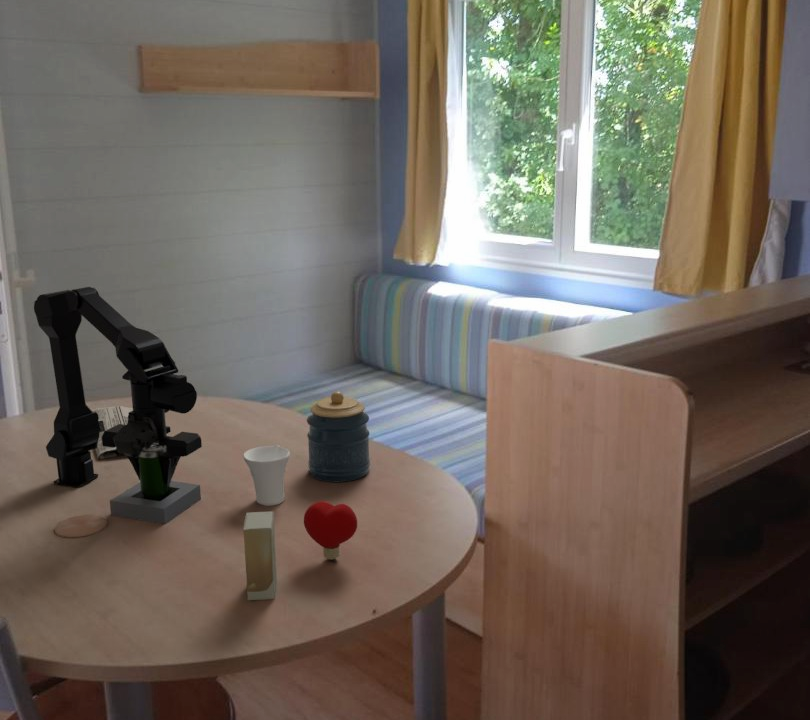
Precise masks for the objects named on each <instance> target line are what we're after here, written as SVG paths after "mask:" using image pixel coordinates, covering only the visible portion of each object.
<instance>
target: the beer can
mask: <svg viewBox="0 0 810 720" xmlns="http://www.w3.org/2000/svg"><path fill="white" fill-rule="evenodd" d="M163 452H165V446H159V445H151V446H150V448H143V449H142V452H141V453H140V454H138V463H139V474H140V480H139V483H140V485H141V495H142V499H148V500H154V501H162V500H163V499H165V498H166V497H168V496H169V495H171V492H170V483H169V484H168V485H166V484H165V480H164V471H163V461H162V459H161V458H160V457H159V456H158V455H160V454H161V453H163Z"/></svg>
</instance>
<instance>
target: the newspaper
mask: <svg viewBox="0 0 810 720" xmlns="http://www.w3.org/2000/svg"><path fill="white" fill-rule="evenodd" d="M90 410H91V411H92V412H96V413H97V414H98V421H99V426H100V429H101V431H100V432H99V433H100V435H99V439H98V445H97V448H96V449H94V450H95V453H96V456H97V458H98V460H99V459H100V460H103V459H105V458H112V457H117V454H116V447H115V448H113V447H105V446H103V445H102V435H103V433H104V431H106V430H108V429H110V428H112V427H114V426H116V425H118V424H123V425H127V423H128V415H129V412H131V411H133V407H126V406H122V405H116V406H108V407H97V408H94V409H90Z"/></svg>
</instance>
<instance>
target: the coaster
mask: <svg viewBox="0 0 810 720" xmlns="http://www.w3.org/2000/svg"><path fill="white" fill-rule="evenodd" d="M107 525H108V521H107V518H105V516H102V515H98V514H81V515H75V516H71V517H67V518H66V519H63V520H61V521H59V522H58V523H57V524H56V526H55V527H54V532H55V534H56V535H57V536H59V537H62V538H69V539H74V538H75V539H76V538H78V539H79V538H83V537H89V536H92V535H95V534H96V533H99V532H101V531H103V530H104V529H105V528H106V527H107Z"/></svg>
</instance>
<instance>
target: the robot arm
mask: <svg viewBox="0 0 810 720" xmlns="http://www.w3.org/2000/svg"><path fill="white" fill-rule="evenodd" d="M33 310H34V314H35V317H36V320H37V324H38V326H39V328H40V329H41V330H42V331H43V333H44V334H45V335H46V336H47V337H48V339H49V340H48V341H49V346H50V352H51V359H52V365H53V371H54V372H53V373H54V378H55V384H56V385H55V386H56V390H57V391H56V392H57V397H58V405H59V409H58V411H57V413H56V415H55V418H54V420H53V435H52V437H51V438H50V440H49V441H48V443H47V444H46V446H45V449H46V452H47V456H48V457H49V458H53V459H56V467H57V474H58V475H57V476H58V478H57V479H55V480H53V485H59V486H60V485H61V486H66V487H74V488H81V487H82V486H84V485H85V484H87V483H89V482H91V481H93V480H95V479H97V478H98V477H99V474H98V473H94V472H95V470H94V461H93V458H92V454H91V451H93V450H95V449H96V448H97V445H98V439H99V435H100V433H99V432H100V431H101V429H100V426H99V421H98V414H97V413H96V412H92V411H91V410H92V409H90V407H89V406H88V405H87V404H86V403H87V402H86V397H85V389H84V383H83V378H82V370H81V363H80V357H79V349H78V343H77V332H78V331H79V328H80V326H81V323H82V321H83V320H82V319H83V318H84V319H85V320H86V321H88V322H89V323H90V324H91V325H92V326H93V327H94V328H95V329H96V330H98V332H99V333H101V334H102V335H103V337H105V339H107V340H108V341H109V342H110V344H112V345H113V346H114V348H115V355H116V358H117V359H118V360H119V362H120V363H122V365H123V366H124V367H125V368H126V370H127V371H126V372H125V373H123V375H122V379H123V380H125V381H129V382H130V392H131V393H130V395H131V405H132V406H131V408H133V411H131V412H129V415H128V423H127V425H123V424H118V425H116V426H114V427H112V428H110V429H108V430H106V431H104V433H103V435H102V445H103V446H105V447H113V448H115V447H116V450H115V452H117V453H118V454H120V455H125V456H126V458H128V461H129V462H130V464H131V465H132V468H133V470H134V472H135V474H136V477H137V478H138V480H139V481H140V474H139V463H138V454H140V453H141V452H142V449H143V448H150V446H151V445H159V446H165V452H163V453H161V454H160V455H158V456H159V457H160V458H161V459H162V461H163V471H164V480H165V484H166V485H168V484H169V483H170V482H171V481H172V479H173V477H174V474H175V471H176V469H177V466H178V464H179V461H180V459H181V458H184V457H188V456H190V455H191V454H193V453H194V452H196V451H197V450H200V449H201V448H202V447H203V444H202V438H201V436H200V435H199V433H197V432H196V433H195V432H189V431H181V432H179V433H177V434H175V435H174V436H167V434H169V433H171V426H167V424H166V423H167V422H166V413H168V412H175V413H178V414H181V415H182V414H188V412H190V411H192V409H193V408H194V407H195V404H196V402H197V398H198V393H197V390H196V388H195V387H194V385H193V384H192V383H191V382H188V377H187V375H183V374H178V373H179V369H178V367H177V365H176V361H174V359H173V358H172V356H171V355H170V352H169V351H168V349H167V347H166V345H165V343H164V341H163V340H162V339H161V338H160V337H158V336H156V335H155V334H154V333H152V332H150V331H148V330H146V329H142V328H138V327H136V326H134V325H133V324H132V323H130V322H129V321H128V320H127V319H126V318H124V316H122V314H121V313H119V312H118V310H116V309H115V308H114V307H113V306H111V304H110V303H108V302H107V301H106V300H105V299H104V298H103V297H101V295H100V294H99V292H98V290H97V289H96V288H95V287H91V286H85V287H84V286H83V287H80V288H79V287H78V288H74V289H71V290H70V289H66V290H61V291H54V292H49V293H44V294H39V296H37V298H36V300H34V303H33ZM156 367H157V368H156ZM150 369H151V370H150Z"/></svg>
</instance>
